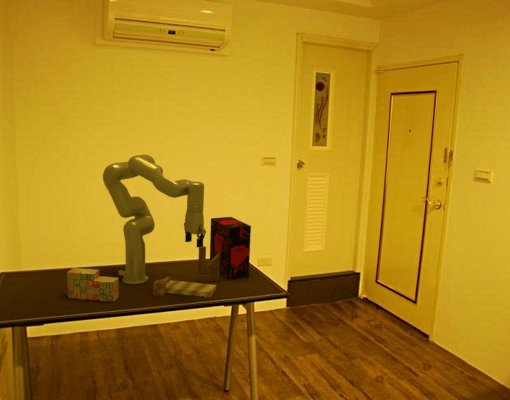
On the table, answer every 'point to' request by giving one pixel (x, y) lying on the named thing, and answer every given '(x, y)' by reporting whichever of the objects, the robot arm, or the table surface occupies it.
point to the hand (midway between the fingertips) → (194, 244)
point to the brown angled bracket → (212, 264)
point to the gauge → (160, 286)
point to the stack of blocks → (91, 285)
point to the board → (190, 288)
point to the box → (231, 246)
